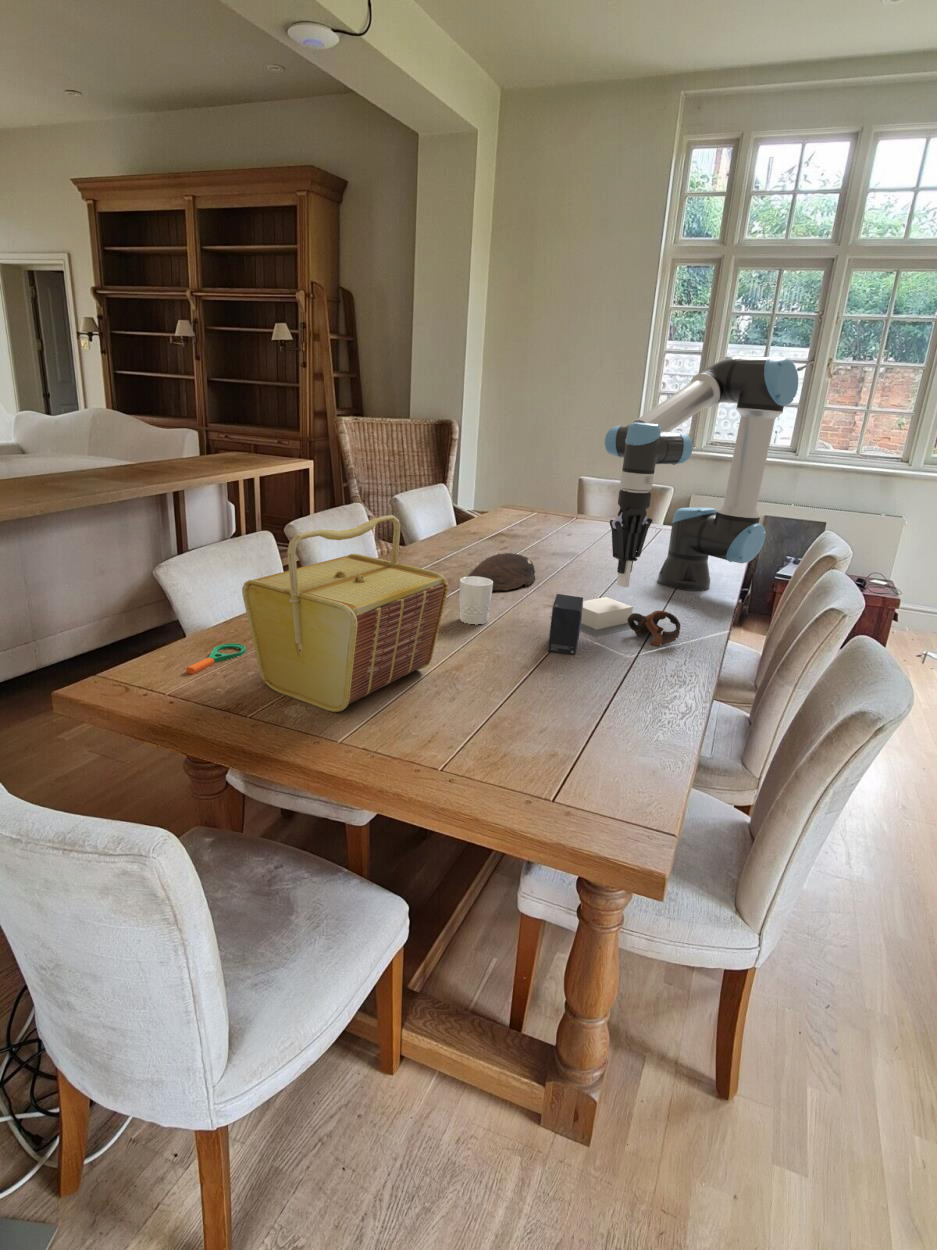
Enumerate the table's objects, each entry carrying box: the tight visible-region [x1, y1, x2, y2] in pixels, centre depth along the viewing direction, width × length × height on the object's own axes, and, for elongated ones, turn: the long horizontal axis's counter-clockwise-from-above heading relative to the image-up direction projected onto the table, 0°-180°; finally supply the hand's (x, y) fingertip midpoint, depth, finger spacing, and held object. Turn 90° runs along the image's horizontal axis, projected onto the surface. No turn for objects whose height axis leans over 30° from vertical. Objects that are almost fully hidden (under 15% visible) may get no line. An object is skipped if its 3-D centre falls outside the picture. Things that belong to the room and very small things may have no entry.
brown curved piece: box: [628, 610, 681, 647], centre depth 164 cm, size 12×10×8 cm
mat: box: [549, 612, 638, 638], centre depth 176 cm, size 22×16×1 cm
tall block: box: [581, 596, 634, 630], centre depth 175 cm, size 4×9×12 cm
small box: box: [546, 593, 584, 656], centre depth 157 cm, size 11×6×10 cm, turn 168°
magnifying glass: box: [186, 642, 247, 675], centre depth 140 cm, size 15×6×2 cm, turn 162°
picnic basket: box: [241, 514, 449, 713], centre depth 130 cm, size 29×26×30 cm
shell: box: [466, 552, 536, 592], centre depth 208 cm, size 34×20×8 cm, turn 161°
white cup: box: [459, 576, 493, 626], centre depth 170 cm, size 8×8×10 cm
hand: (622, 585), depth 177 cm, fingers closed
